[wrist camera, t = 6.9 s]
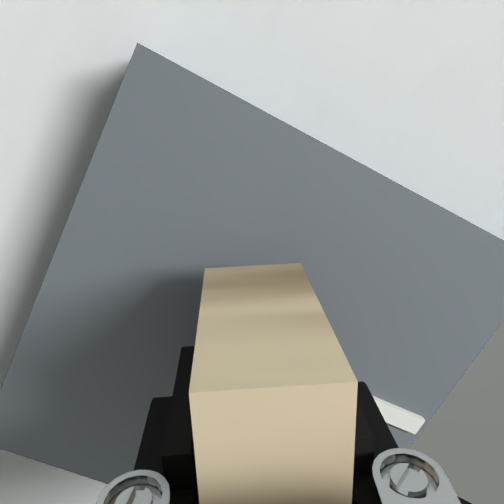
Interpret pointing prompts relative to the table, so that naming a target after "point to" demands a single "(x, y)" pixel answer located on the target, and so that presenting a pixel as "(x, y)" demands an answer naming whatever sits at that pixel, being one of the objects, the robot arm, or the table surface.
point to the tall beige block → (270, 392)
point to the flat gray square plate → (233, 255)
